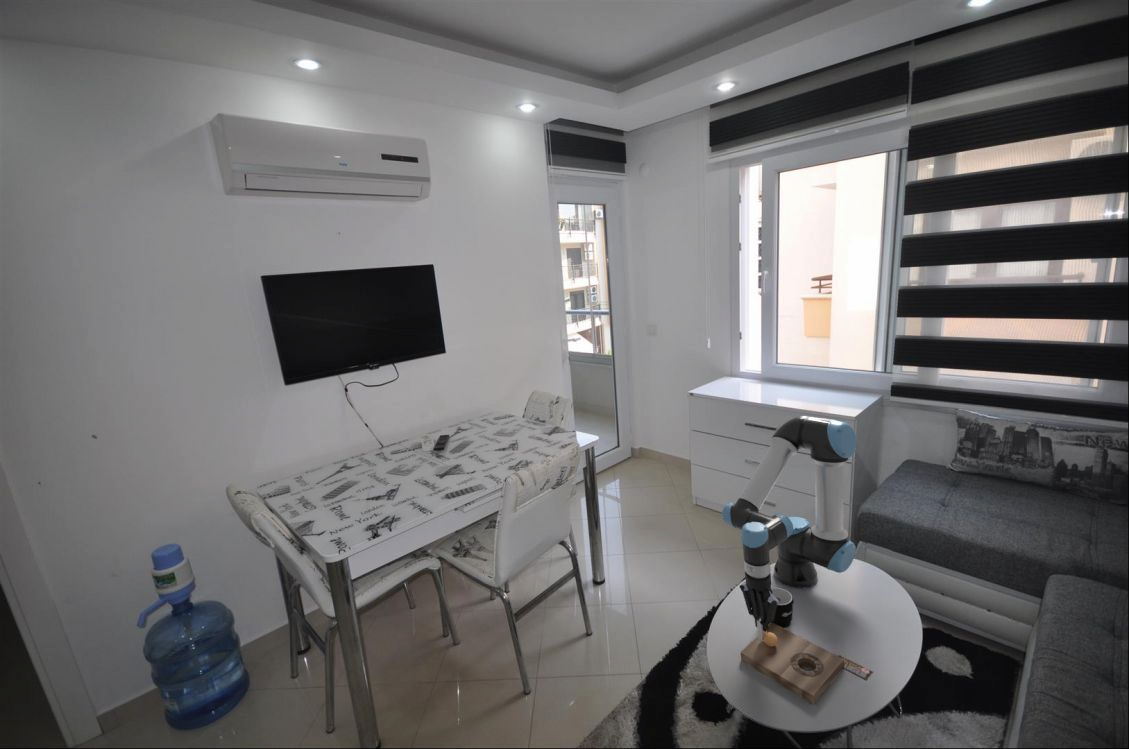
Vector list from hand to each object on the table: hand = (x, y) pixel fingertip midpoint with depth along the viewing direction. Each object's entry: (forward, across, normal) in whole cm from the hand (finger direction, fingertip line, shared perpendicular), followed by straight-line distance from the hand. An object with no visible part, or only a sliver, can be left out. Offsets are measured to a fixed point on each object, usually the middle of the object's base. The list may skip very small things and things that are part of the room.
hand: (762, 637), depth 159 cm
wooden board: (+4, +9, 0) cm, 10 cm away
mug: (+5, -3, +16) cm, 16 cm away
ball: (-1, +3, 0) cm, 3 cm away
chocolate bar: (+5, +22, +11) cm, 25 cm away
